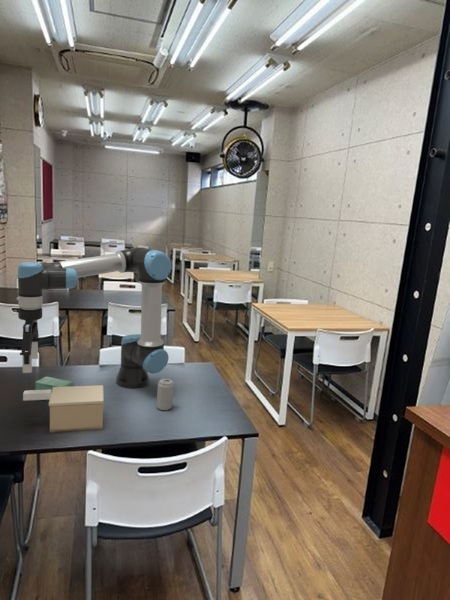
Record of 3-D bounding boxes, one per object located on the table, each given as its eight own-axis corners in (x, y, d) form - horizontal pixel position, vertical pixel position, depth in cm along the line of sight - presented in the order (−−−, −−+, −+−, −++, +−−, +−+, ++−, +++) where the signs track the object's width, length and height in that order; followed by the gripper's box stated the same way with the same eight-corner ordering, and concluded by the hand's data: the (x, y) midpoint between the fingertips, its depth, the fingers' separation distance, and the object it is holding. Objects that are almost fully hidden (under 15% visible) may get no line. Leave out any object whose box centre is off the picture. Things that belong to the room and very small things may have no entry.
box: (63, 404, 164) (63, 387, 163) (34, 398, 167) (34, 381, 166) (73, 397, 172) (74, 380, 170) (45, 391, 174) (45, 375, 173)
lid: (103, 387, 160) (103, 381, 159) (103, 403, 146) (103, 397, 146) (27, 390, 151) (27, 384, 151) (20, 407, 138) (20, 400, 138)
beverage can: (174, 406, 171) (176, 380, 169) (167, 412, 165) (169, 385, 163) (161, 403, 173) (162, 376, 171) (153, 409, 167) (155, 382, 165)
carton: (102, 411, 162) (103, 388, 160) (102, 429, 148) (103, 404, 146) (53, 413, 156) (54, 389, 154) (49, 432, 143) (49, 406, 141)
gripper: (25, 299, 150) (25, 353, 154) (10, 316, 126) (11, 379, 130) (46, 300, 152) (46, 353, 156) (36, 316, 129) (36, 378, 133)
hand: (30, 365), depth 143 cm, fingers open, 13 cm apart
